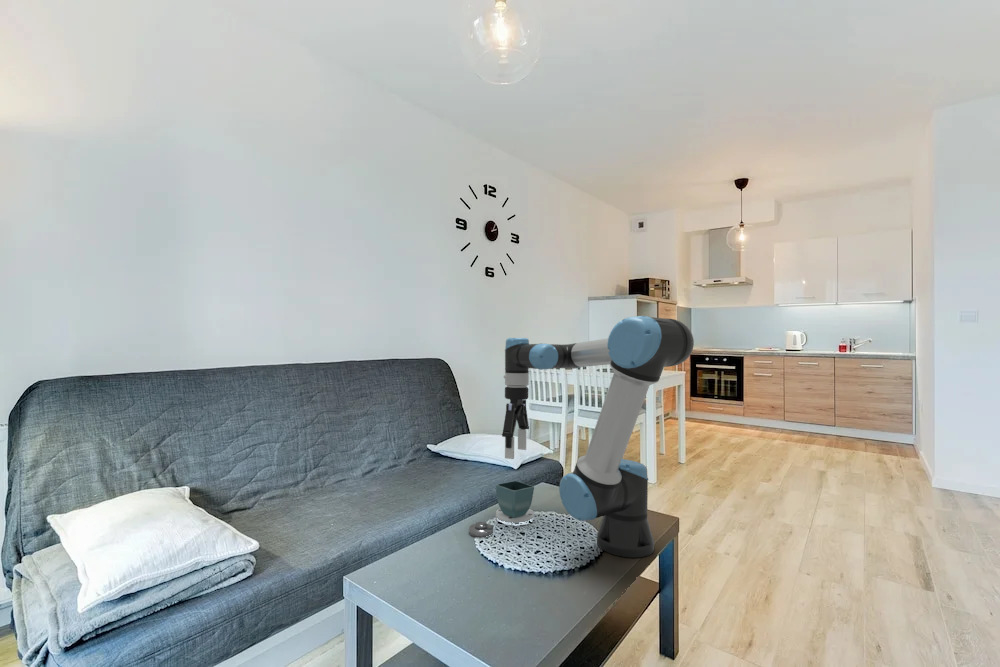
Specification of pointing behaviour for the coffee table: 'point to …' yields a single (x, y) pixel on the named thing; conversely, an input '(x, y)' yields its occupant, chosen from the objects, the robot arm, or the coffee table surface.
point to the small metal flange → (480, 529)
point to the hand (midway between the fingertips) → (516, 453)
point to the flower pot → (514, 497)
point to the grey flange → (522, 518)
